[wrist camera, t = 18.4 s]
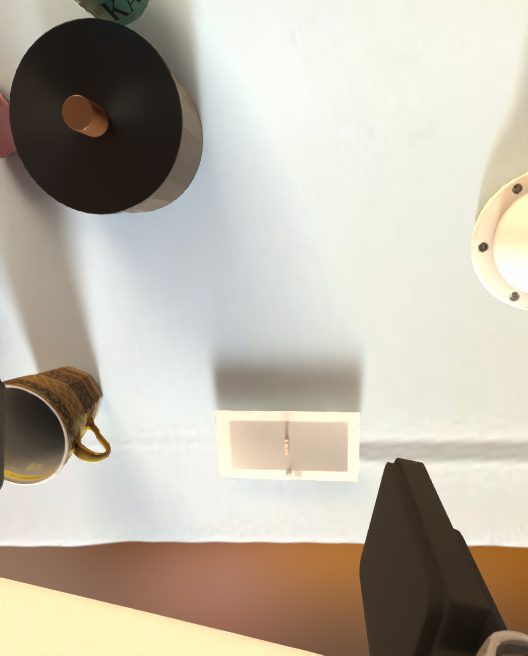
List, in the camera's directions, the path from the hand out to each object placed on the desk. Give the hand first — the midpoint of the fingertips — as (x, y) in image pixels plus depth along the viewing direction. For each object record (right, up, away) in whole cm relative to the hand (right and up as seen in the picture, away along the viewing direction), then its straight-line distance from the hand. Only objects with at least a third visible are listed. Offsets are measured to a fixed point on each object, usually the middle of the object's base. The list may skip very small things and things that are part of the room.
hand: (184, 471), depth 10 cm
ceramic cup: (-18, -4, +39) cm, 43 cm away
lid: (-11, +20, +24) cm, 33 cm away
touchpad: (+4, -9, +37) cm, 38 cm away
